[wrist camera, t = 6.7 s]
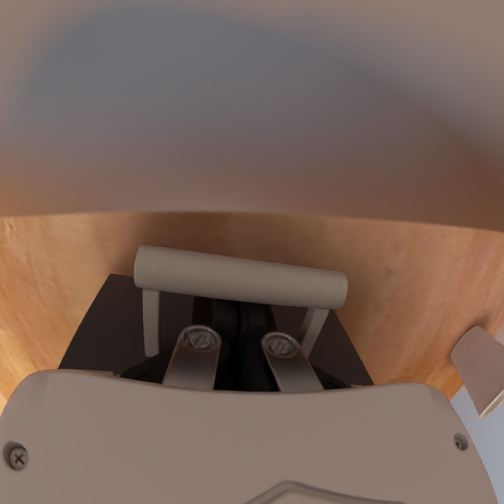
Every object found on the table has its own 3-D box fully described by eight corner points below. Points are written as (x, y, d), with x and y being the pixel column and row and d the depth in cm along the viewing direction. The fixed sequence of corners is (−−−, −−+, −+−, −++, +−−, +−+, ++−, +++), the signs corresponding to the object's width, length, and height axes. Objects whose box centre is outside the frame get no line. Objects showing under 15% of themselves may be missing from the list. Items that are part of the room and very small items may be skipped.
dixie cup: (474, 311, 22) (524, 366, 13) (493, 321, 24) (533, 366, 15) (432, 366, 25) (470, 425, 16) (457, 367, 27) (490, 415, 18)
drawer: (110, 193, 12) (-1, 283, 4) (354, 232, 15) (454, 331, 7) (126, 388, 19) (109, 479, 11) (280, 402, 21) (299, 489, 13)
